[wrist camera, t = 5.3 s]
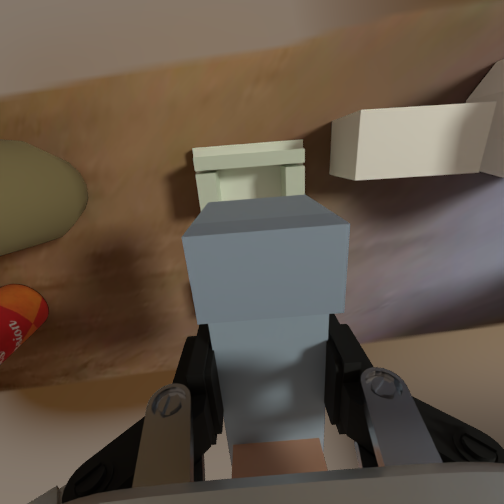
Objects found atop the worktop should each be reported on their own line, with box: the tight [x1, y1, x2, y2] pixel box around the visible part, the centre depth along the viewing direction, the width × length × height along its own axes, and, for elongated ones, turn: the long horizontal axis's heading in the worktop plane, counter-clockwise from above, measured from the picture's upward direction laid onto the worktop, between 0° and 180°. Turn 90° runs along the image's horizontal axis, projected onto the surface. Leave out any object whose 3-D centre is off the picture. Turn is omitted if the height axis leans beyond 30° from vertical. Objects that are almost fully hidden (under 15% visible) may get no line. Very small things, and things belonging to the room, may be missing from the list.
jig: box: [192, 139, 305, 211], centre depth 24 cm, size 10×17×4 cm, turn 4°
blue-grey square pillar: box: [182, 195, 350, 479], centre depth 10 cm, size 4×12×5 cm, turn 4°
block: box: [329, 101, 497, 181], centre depth 20 cm, size 9×4×6 cm, turn 93°
